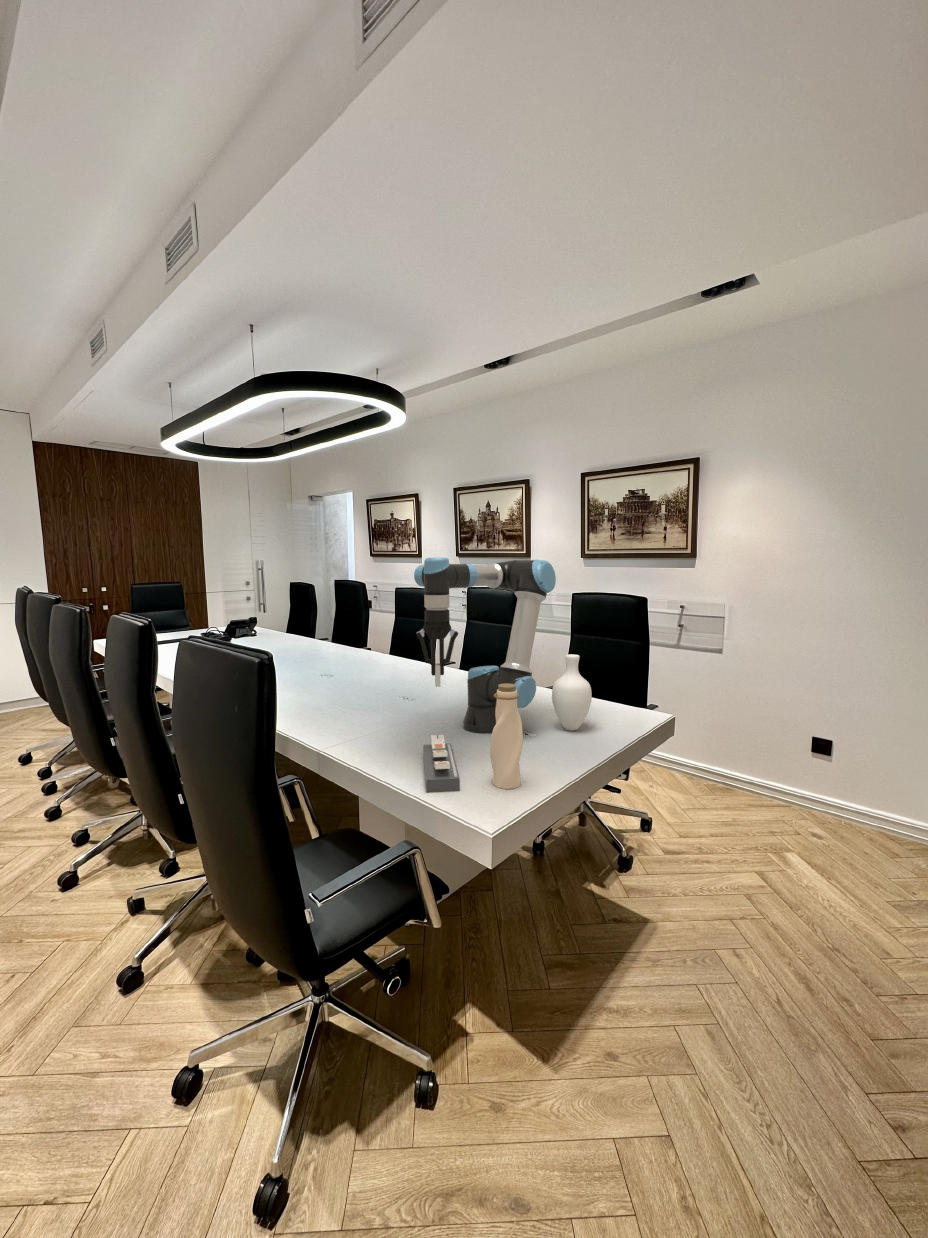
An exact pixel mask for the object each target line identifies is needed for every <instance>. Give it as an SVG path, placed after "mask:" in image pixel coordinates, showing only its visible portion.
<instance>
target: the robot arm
mask: <svg viewBox="0 0 928 1238" xmlns="http://www.w3.org/2000/svg"><path fill="white" fill-rule="evenodd" d="M413 578H414V582H415V583H416V585H417V586H419V587H423V589H424V590H423V591H424V594H423V596H424V605H423V607H424V608H425V610H424V624H423V627H422V628H421V629H420V630H419V631H417V632H416V634H415V635H416V637H417V638H418V639H419V642H420V645H421V650H422V654H423V657H424V661H425V663H426V664H429V665H430V668H431V669H430V672H431V676H434V686H435V687H437V688H439V687H441V676H444V675H445V665H446V664H448V663H450V662H451V658H452V653H453V650H454V647H455V641H456V639H457V637H458V636H459V632H458V631H457V630H454V629H453V628H452V626H451V623H450V620H451V619H450V618H451V617H450V610H449V608H450V589H467V588H471V587H488V588H489V589H499V590H505V591H512V592H513V591H514V595H515V596H516V598H517V601H516V606H515V611H514V616H513V621H512V626H511V631H510V637H509V642H508V648H507V652H506V657H505V661H504V663H502V664H501V665H500V667H499V666H497V665H483V666H477V667H471V668H470V669H469V670H468V672H467V679H466V680H467V709H466V712H465V715H464V719H463V722H462V723H463V724H462V726H463V729H464V730H466V731H469V732H471V733H477V734H478V733H480V734H489V733H492V732H493V729H494V727H495V725H496V716H495V710H496V702H497V698H495V697H494V694H495V693H497V690H498V685H499V684H505V683H508V684H515V685H516V690H517V693H518V694H519V698H517V709H524V708H526V707H528V706H529V704H531V703H532V701H533V700H534V699H535V696H536V692H537V683H536V680H535V678H533V677H532V676H533V671H532V670H531V668H530V662H531V658H532V657H531V656H532V652H533V648H534V641H535V636H536V631H537V626H538V620H539V615H540V614H539V613H540V609H541V603H542V602H544V601H545V600H547V594H548V593H551V592H552V591H553V590H554V589H555V587H556V581H557V576H556V572H555V569H554V566H553V565H552V564H551V563H550V562H549V561H547V560H544V559H543V560H542V559H541V560H540V559H526V560H525V559H523V560H522V559H521V560H519V559H516V560H515V559H514V560H508V561H506V560H505V561H500V562H489V563H488V564H483V565H482V564H471V563H450V559H449V558H448V557H426V558H425V559H424V562H423V564H419V565H417V567H416V568H415V569H414V572H413ZM425 634H426V635H427V637H428V638H429V639H430V657H429V653H428V650H427V647H426V643H425ZM448 634H449V636H450V638H449V643H448V646H447V651H446V656H445V639H446V637H447V636H448ZM437 640H439V642H438V643H439V644H438V645H439V651H438V652H439V663H436V641H437ZM496 696H497V695H496Z"/></svg>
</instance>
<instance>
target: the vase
mask: <svg viewBox="0 0 928 1238" xmlns="http://www.w3.org/2000/svg"><path fill="white" fill-rule="evenodd" d="M580 657H581V655H579V654H571V653H570V654H565V655H564V658H565V664H566V665H565V671H564V673H563V674H562V675H561V676H560V677H559V678H557V679H556V680H555V681H554V683H553V686H552V688H551V689H552V690H551V700H552V706H553V709H554V712H555V714H556V716H557V718H558V721H559V722H560V724H561V726H562V727H563V728H564V730H566V731H571V732H573V731H574V732H575V731H578V729H580V728H581V726H582V724H583V723H584V721H585V719H586V717H587V716H588V714H589V711H590V708H591V704H592V697H593V696H592V695H593V694H592V687H591V684H590V683H589V681H587V679H585V678H584V677H583V676H582V675H581V674H580V671H579V662H580Z"/></svg>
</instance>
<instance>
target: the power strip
mask: <svg viewBox="0 0 928 1238" xmlns="http://www.w3.org/2000/svg"><path fill="white" fill-rule="evenodd" d="M422 748H423V750H422V751H423V753H422V754H423V764H424V765H423V766H424V776H425V778H424V779H425V789H426V793H443V792H444V793H445V792H458V791H459V792H460V791H461V789H460V787H461V785H460V783H461V782H460V781H461V780H460V779H461V778H460V774H459V770H458V766H457V763H456V762H457V761H456V758H455V754H454V750H453V745H452V743H445V750H446V751H447V757H433V752H432V743H431V744H422ZM438 761H448V762H449V763H450V769H435V767H434V762H438Z"/></svg>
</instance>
